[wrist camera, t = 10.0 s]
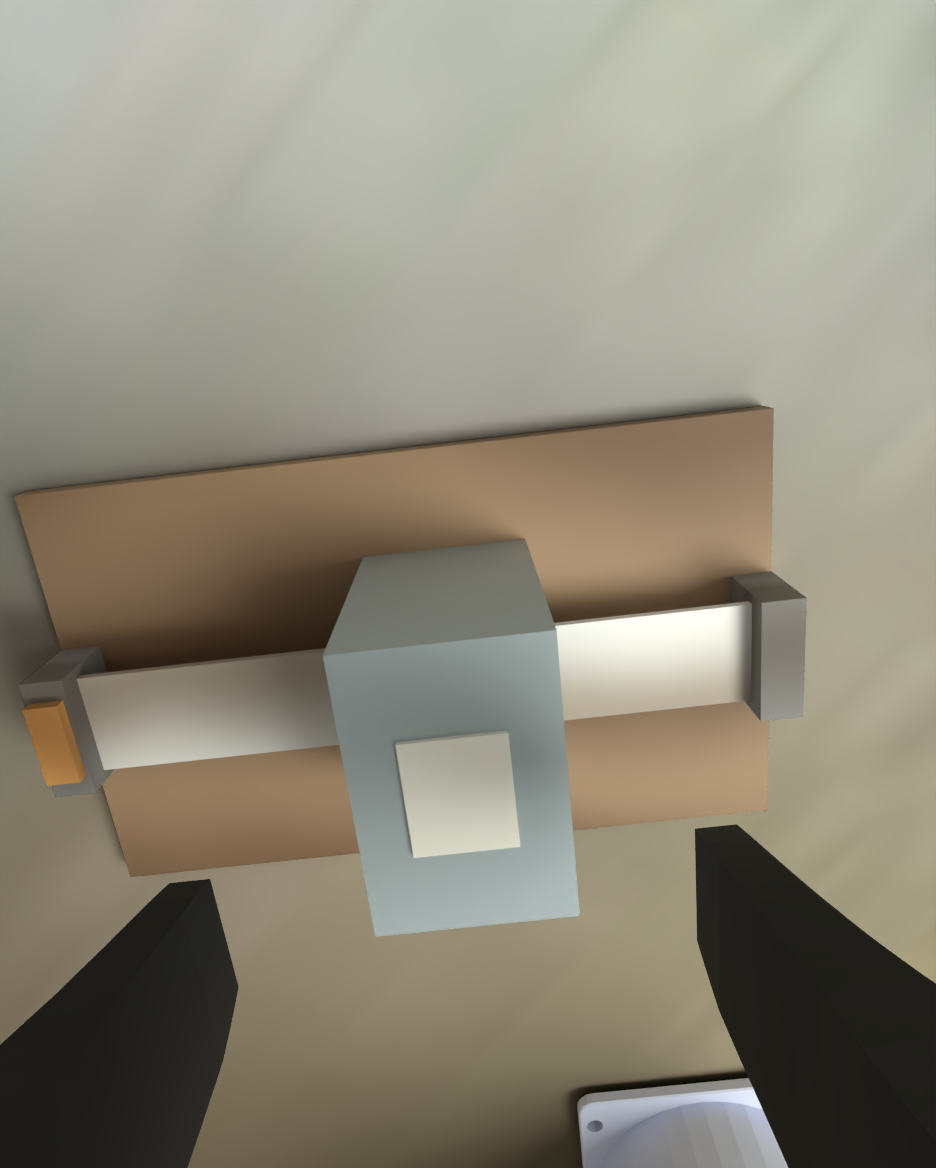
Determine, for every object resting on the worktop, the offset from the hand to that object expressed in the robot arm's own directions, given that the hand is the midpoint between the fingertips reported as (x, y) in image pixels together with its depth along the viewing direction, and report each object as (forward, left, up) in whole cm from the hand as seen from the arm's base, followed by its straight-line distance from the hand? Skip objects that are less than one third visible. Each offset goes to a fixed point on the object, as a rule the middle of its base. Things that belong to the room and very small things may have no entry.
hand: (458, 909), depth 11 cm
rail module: (0, 0, -9) cm, 9 cm away
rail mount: (0, +1, -9) cm, 9 cm away
